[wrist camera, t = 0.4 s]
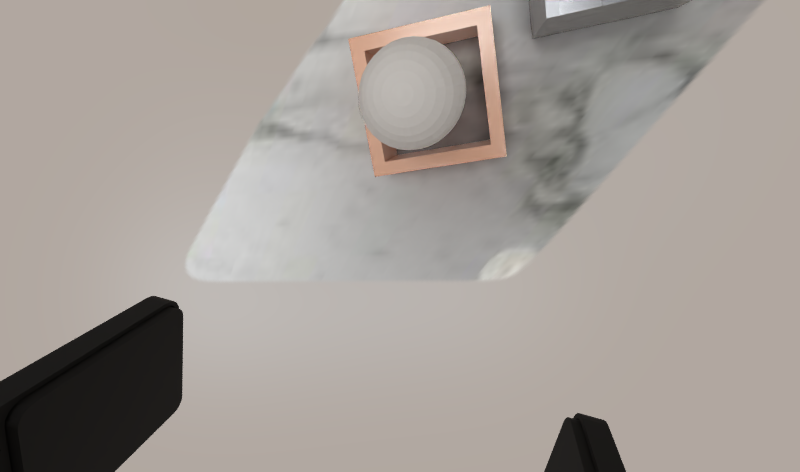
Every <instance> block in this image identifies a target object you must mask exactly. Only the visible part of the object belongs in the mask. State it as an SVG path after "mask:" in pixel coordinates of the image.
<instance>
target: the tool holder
mask: <svg viewBox="0 0 800 472" xmlns="http://www.w3.org/2000/svg"><path fill="white" fill-rule="evenodd" d="M411 36H418V37H426V38H429V39H433V40H436V41H438V42H439V43H441V44H447V43H451V42H456V41H460V40H465V39H469V38H474V37H478V40H479V49H480V57H481V66H482V74H483V83H484V91H485V100H486V108H487V117H488V125H489V134H490V140H484V141H478V142H472V143H466V144H460V145H454V146H448V147H442V148H436V149H430V150H424V151H418V152H411V153H405V154H399V155H398V154H397V149H396V148H393V147H390V146H388V145H386V144H384V143H382V142H381V141H379V140H378V139H377V138H376V137H375V136H374V135H372V133H371V132H370V131H369V129H368V128H367V127H366V125H365V128H366V133H367V138H368V143H369V149H370V154H371V159H372V164H373V169H374V175H375V177H376V176H383V175H389V174H396V173H402V172H409V171H415V170H422V169H428V168H435V167H441V166H448V165H454V164H460V163H467V162H473V161H480V160H486V159H493V158H499V157H506V156H507V154H506V145H505V136H504V127H503V118H502V108H501V99H500V90H499V81H498V72H497V62H496V53H495V44H494V35H493V26H492V16H491V7H490V5H489V6H484V7H480V8H476V9H472V10H468V11H463V12H459V13H455V14H451V15H447V16H442V17H438V18H434V19H430V20H426V21H421V22H417V23H413V24H409V25H405V26H400V27H396V28H392V29H388V30H384V31H379V32H375V33H371V34H367V35H363V36H358V37H354V38H350V39H348V40H349V45H350V50H351V55H352V60H353V66H354V71H355V76H356V81H357V86H358V92H359V85H360V81H361V77H362V74H363V72H364V70H365V68H366V66H367V64H368V63H369V61H370V60H371V59H372V57H373V56H374V55H375V54H376V53H377V52H378V51H379V50H380V49H381V48H382V47H384V46H386V45H387V44H389V43H390V42H392V41H395V40H398V39H400V38H404V37H411Z"/></svg>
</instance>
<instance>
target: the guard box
mask: <svg viewBox="0 0 800 472" xmlns="http://www.w3.org/2000/svg"><path fill="white" fill-rule="evenodd" d="M690 1H692V0H529V7H530V19H531V30H532V39H534V38H538V37H543V36H548V35H552V34H557V33H561V32H566V31H571V30H575V29H580V28H585V27H589V26H594V25H599V24H603V23H608V22H613V21H617V20H622V19H627V18H631V17H636V16H641V15H645V14H650V13H655V12H659V11H664V10H668V9H673V8H678V7H680V6H682V5H684V4H686V3H688V2H690Z"/></svg>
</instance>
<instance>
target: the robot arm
mask: <svg viewBox="0 0 800 472" xmlns="http://www.w3.org/2000/svg"><path fill="white" fill-rule="evenodd" d="M182 359H183V313H182V310H180V309H179V306H178V305H177V303H176V302H174V301H171V300H167V299H164V298H160V297H156V296H151V297H149V298H146V299H144V300H143V301H141V302H139V303H137V304H136V305H134V306H132V307H130V308H129V309H127V310H125V311H123V312H122V313H120V314H118V315H116V316H115V317H113V318H111V319H109V320H108V321H106V322H104V323H102V324H100V325H99V326H97V327H95V328H93V329H92V330H90V331H88V332H86V333H85V334H83V335H81V336H80V337H78V338H76V339H74V340H72V341H71V342H69V343H67V344H65V345H64V346H62V347H60V348H58V349H57V350H55V351H53V352H51V353H50V354H48V355H46V356H44V357H42V358H41V359H39V360H37V361H35V362H34V363H32V364H30V365H28V366H27V367H25V368H23V369H22V370H20V371H18V372H16V373H14V374H13V375H11V376H9V377H7V378H6V379H4V380H2V381H0V472H115V470H117V469H118V468H119V467H120V466H121V465H122V464H123V463H124V462H125V461H126V460H127V459H128V458H129V457H130V456H131V455H132V454H133V453H134V452H135V451H136V450H137V449H138V448H139V447H140V446H141V445H142V444H143V443H144V442H145V441H146V440H147V439H148V438H149V437H150V436H151V435H152V434H153V433H154V432H155V431H156V430H157V429H158V428H159V427H160V426H161V425H162V424H163V423H164V422H165V421H166V420H167V419H168V418H169V417H170V416H171V415H172V414H173V413H174V412H175V411H176V410H177V408H178V407H179V405H180V403H181V399H182V363H183V360H182ZM544 472H626V470H625V468H624V465H623V463H622V460H621V458H620V455H619V452H618V450H617V447H616V444H615V442H614V439H613V437H612V434H611V432H610V429H609V426H608V424H607V423H606V421H604V420H602V419H598V418H594V417H591V416H587V415H583V414H580V413H577V414H576V415H575V416H574V418H573V419H572V418H569V417H567V418H566V419H565V420H564V423H563V425H562V428H561V430H560V433H559V435H558V438H557V440H556V443H555V446H554V448H553V451H552V453H551V456H550V459H549V461H548V464H547V466H546V469H545V471H544Z"/></svg>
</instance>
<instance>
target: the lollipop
mask: <svg viewBox="0 0 800 472" xmlns="http://www.w3.org/2000/svg"><path fill="white" fill-rule="evenodd" d="M465 99H466V80H465V75H464V71H463V69H462V67H461V64H460V62H459V61H458V59H457V58H456V56H455V55H454V54H453V52H451V51H450V50H449V49H448V48H447V47H446V46H445V45H443V44H441V43H439V42H438V41H436V40H433V39H429V38H426V37H418V36H411V37H404V38H400V39H398V40H395V41H392V42H390V43H389V44H387V45H386V46H384V47H382V48H381V49H380V50H379V51H378V52H377V53H376V54H375V55H374V56H373V57H372V59H371V60H370V61H369V63H368V64H367V66H366V68H365V70H364V72H363V74H362V77H361V81H360V85H359V93H358V100H359V109H360V112H361V116H362V119H363V121H364V123H365V125H366V127H367V128H368V129H369V131H370V132H371V133H372V135H374V136H375V137H376V138H377V139H378V140H379V141H381V142H382V143H384V144H386V145H388V146H390V147H393V148H396V149H401V150H417V149H422V148H426V147H429V146H431V145H433V144H435V143H437V142H439V141H440V140H441V139H442V138H444V137H445V136H446V135H447V134H448V133H449V132H450V131H451V130H452V129H453V128H454V126H455V125H456V123H457V121H458V120H459V118H460V116H461V114H462V111H463V108H464V105H465Z"/></svg>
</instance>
